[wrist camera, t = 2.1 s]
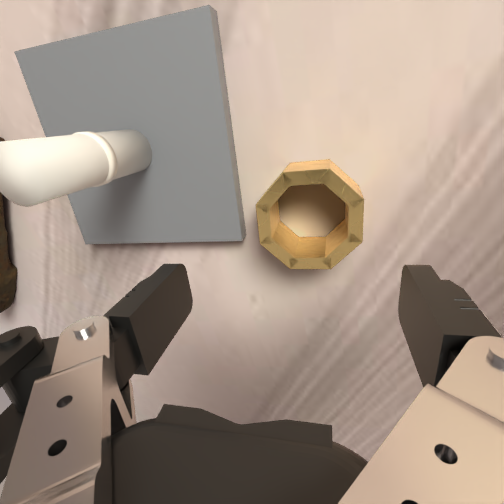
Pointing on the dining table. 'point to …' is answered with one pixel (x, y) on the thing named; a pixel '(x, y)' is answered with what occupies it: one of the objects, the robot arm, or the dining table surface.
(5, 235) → the hand tool
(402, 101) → the dining table surface
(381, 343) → the dining table surface
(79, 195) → the post base
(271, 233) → the ring
